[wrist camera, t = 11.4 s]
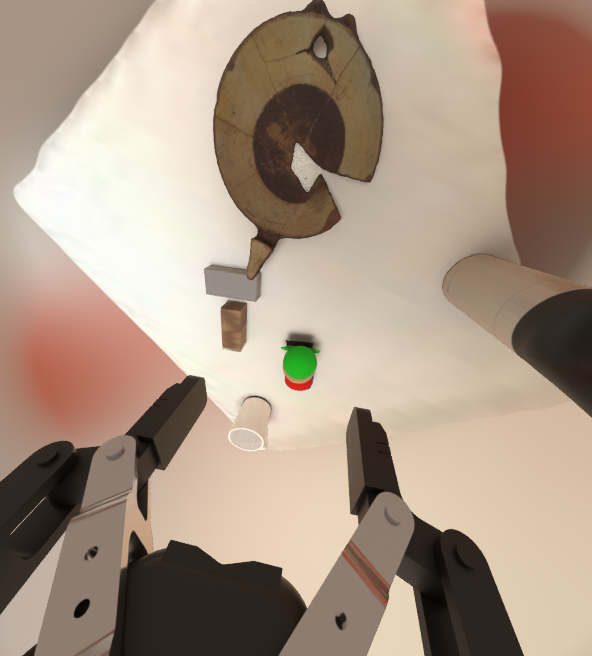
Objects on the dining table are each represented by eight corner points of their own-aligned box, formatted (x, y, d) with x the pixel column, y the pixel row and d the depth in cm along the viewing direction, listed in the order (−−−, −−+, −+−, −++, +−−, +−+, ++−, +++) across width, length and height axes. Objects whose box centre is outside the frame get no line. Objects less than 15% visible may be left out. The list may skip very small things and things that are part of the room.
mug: (235, 403, 62) (220, 436, 54) (256, 389, 59) (243, 422, 50) (263, 424, 66) (253, 459, 57) (284, 413, 62) (277, 447, 53)
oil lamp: (413, 138, 31) (437, 120, 24) (277, 284, 44) (268, 299, 37) (297, -29, 25) (287, -113, 18) (181, 196, 38) (150, 194, 31)
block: (240, 311, 43) (240, 352, 48) (246, 303, 47) (246, 342, 52) (220, 307, 43) (222, 348, 48) (228, 300, 47) (229, 339, 52)
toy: (317, 366, 57) (322, 340, 44) (315, 397, 53) (319, 379, 40) (285, 363, 57) (280, 336, 44) (280, 393, 54) (273, 373, 41)
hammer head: (260, 272, 43) (256, 276, 40) (260, 296, 45) (256, 301, 43) (211, 265, 43) (203, 268, 41) (213, 289, 46) (206, 294, 43)
